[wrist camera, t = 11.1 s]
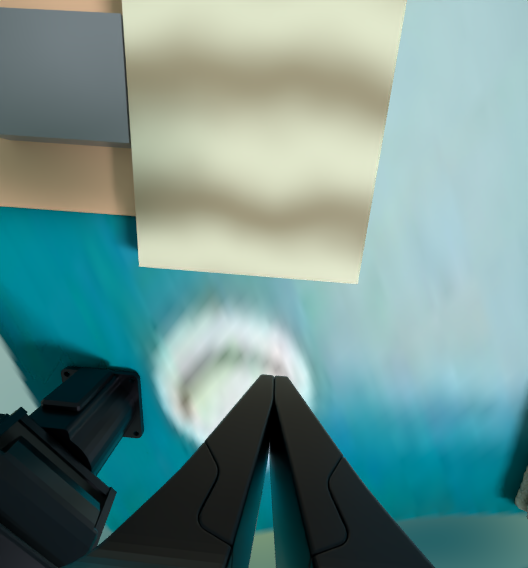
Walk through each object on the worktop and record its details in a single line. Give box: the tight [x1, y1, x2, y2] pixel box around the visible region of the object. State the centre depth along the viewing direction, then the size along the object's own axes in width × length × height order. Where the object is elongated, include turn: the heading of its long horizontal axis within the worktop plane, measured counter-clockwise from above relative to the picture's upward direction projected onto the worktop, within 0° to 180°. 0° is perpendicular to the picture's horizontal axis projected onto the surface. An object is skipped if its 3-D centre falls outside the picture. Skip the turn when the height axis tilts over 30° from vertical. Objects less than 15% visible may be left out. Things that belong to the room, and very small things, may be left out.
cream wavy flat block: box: [122, 0, 407, 284], centre depth 16 cm, size 20×14×2 cm
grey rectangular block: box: [0, 7, 131, 148], centre depth 16 cm, size 6×9×2 cm, turn 86°
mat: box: [0, 0, 136, 216], centre depth 17 cm, size 14×12×1 cm
